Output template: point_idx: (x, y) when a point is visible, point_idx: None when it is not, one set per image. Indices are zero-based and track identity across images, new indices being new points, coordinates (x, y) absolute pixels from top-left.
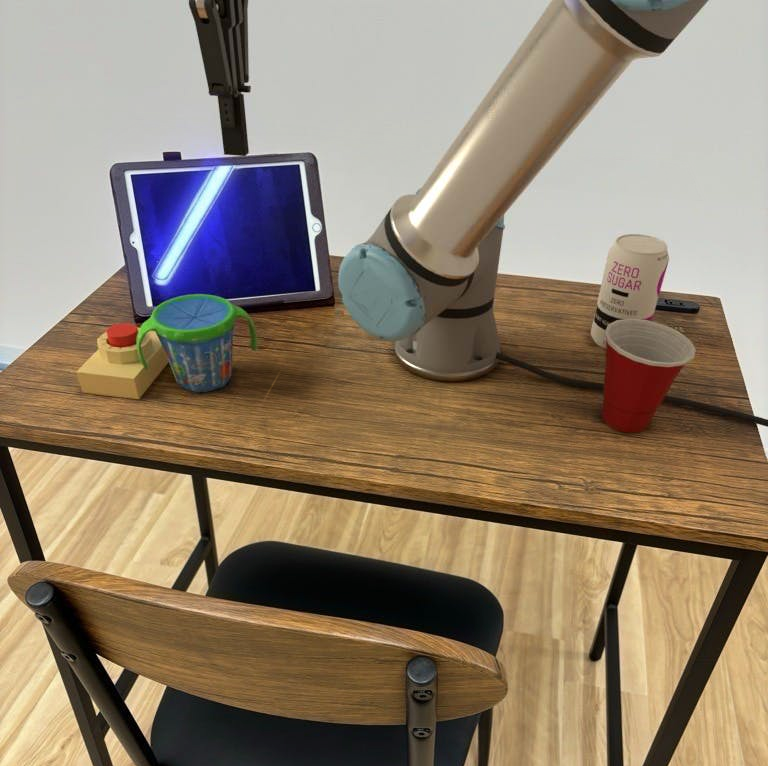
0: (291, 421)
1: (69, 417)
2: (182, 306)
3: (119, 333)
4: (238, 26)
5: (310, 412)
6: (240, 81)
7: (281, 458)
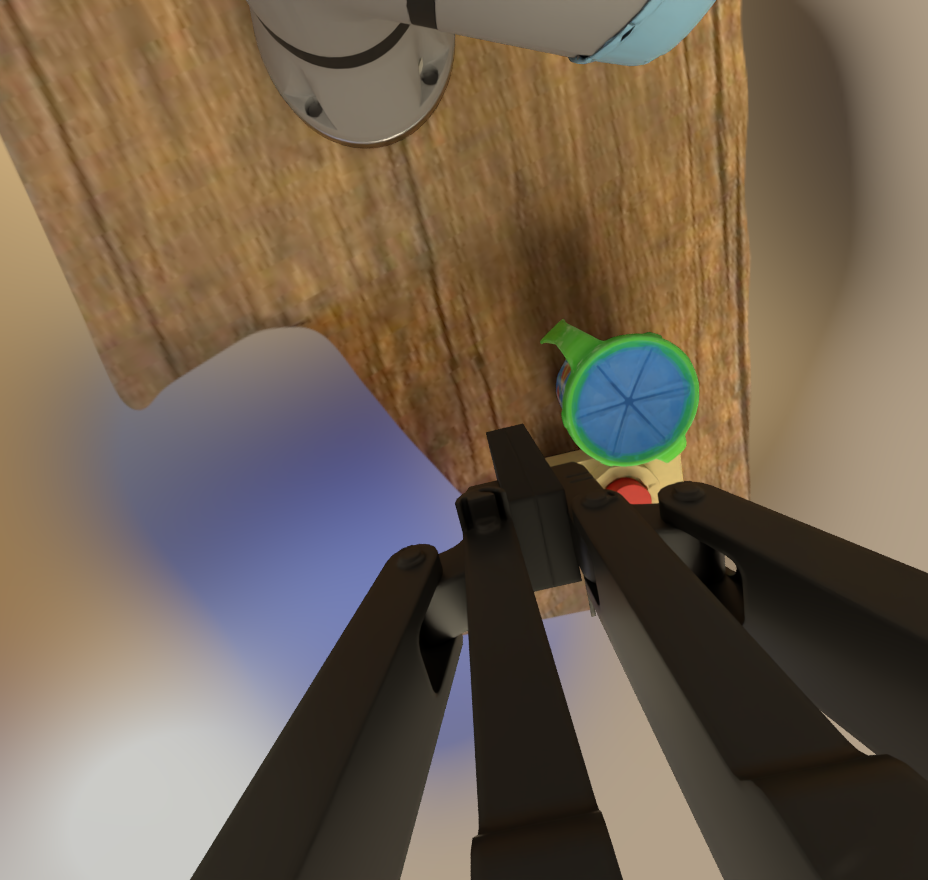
0: (645, 209)
1: (722, 476)
2: (609, 436)
3: (641, 500)
4: (505, 811)
5: (615, 194)
6: (515, 537)
7: (731, 175)
